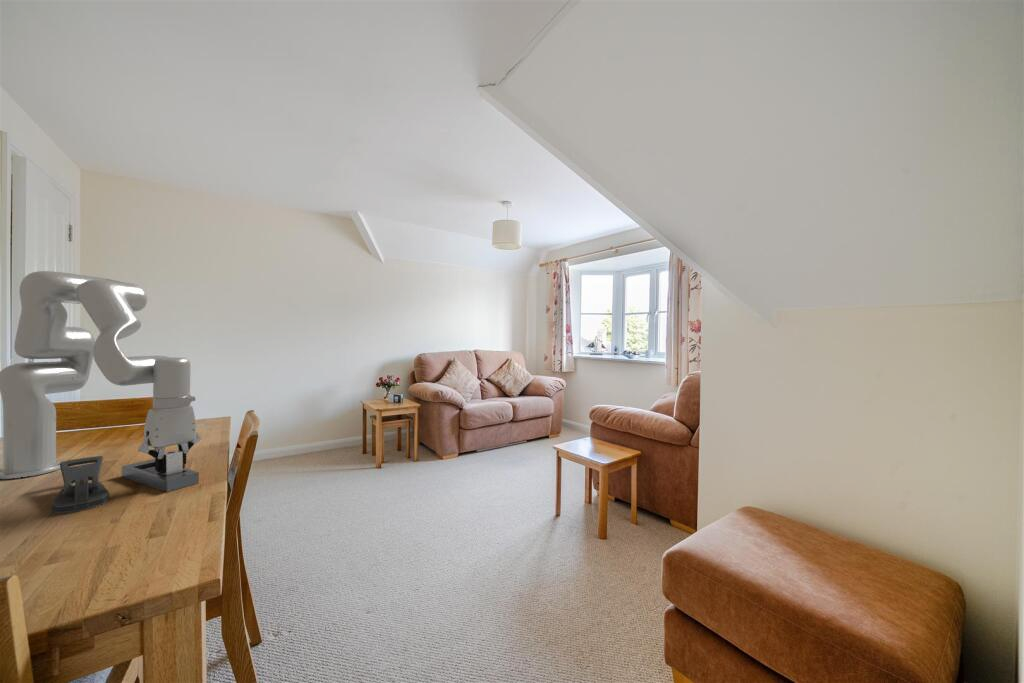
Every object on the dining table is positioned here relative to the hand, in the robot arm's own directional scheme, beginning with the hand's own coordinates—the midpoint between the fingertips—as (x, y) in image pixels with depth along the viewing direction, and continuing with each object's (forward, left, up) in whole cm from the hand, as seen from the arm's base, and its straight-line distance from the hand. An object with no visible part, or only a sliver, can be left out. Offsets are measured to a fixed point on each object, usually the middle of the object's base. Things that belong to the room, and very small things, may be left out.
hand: (170, 469), depth 104 cm
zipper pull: (-10, -14, -4) cm, 18 cm away
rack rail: (-6, 0, -4) cm, 7 cm away
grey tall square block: (0, 0, -3) cm, 3 cm away
